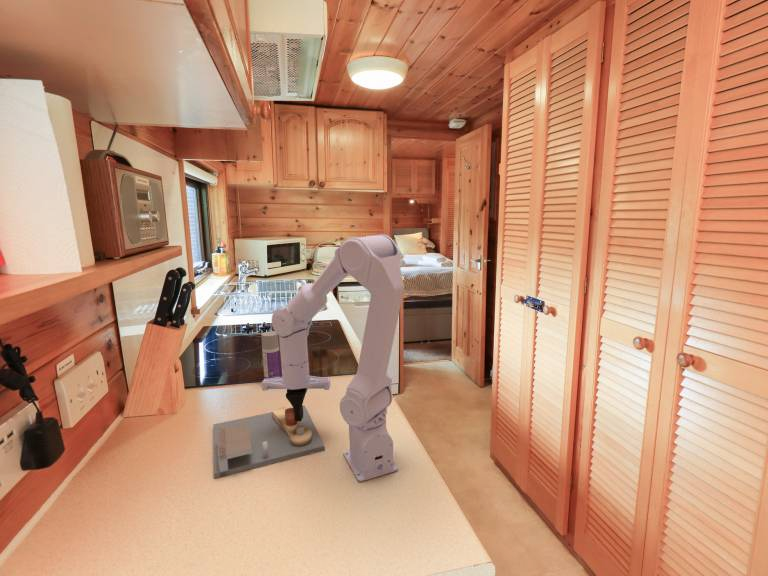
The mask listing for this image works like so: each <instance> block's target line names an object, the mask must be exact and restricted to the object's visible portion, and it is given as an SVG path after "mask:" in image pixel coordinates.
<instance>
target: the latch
mask: <svg viewBox="0 0 768 576" xmlns="http://www.w3.org/2000/svg"><path fill="white" fill-rule="evenodd" d="M271 412H272V417H273V418H274V419H275V420H276V422H277V423H278V424H279V425H280V426H281V427H282V428H283V430H284V431H285V432H286V433H287V434H288V435H289V437H290V443H291V444H292V445H295V446H302V445H306V444H308V443H309V442H311V440H312V431H311V429H309V428H306V427H305V426H303V425H301V424H300V423H299V422H298V421H295V410H294V408H293V407H289V408H286V407H285V406H283V407H280V408H277V409H273V410H271Z"/></svg>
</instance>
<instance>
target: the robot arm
mask: <svg viewBox="0 0 768 576" xmlns="http://www.w3.org/2000/svg"><path fill="white" fill-rule="evenodd" d="M401 254H402V251H401V250H400V248H399V247H398V245H397V244H396V242H395V241H394V240H393V239H392V238H391V236H389V235H388V234H384V233H380V234H374V235H371V236H370V235H369V236H367V235H366V236H358V237H357V236H351V237H347V238H346V239H345V240H344V241H342V243H341V245H340V246H338V247H337V248H336V249H335V250H334V256H333V257H332V259H330V261H329V262H328V264H327V265H326V266H325V268H324V269H323V271H322V272H321V273H320V274H319V276H318V277H317V278H316V280H315V281H314V282H313V283H312V282H311V283H310V282H308V283H305V284H301V285H299V286H298V288H297V290H298V292H297V293H295V295H294V296H293V297H292V298H291V299H288V300H287V302H286V305H285V307H283V308H282V307H281V308H277V309H275V310H274V312H273V313H272V316H271V326H272V329H273V330H274V331H275V332H276V333H277V334H278V341H279V351H280V365H281V377H277V378H269V379H263V380H262V381H261V387H262V388H261V389H262V391H268V390H286V393H285V398H286V400H287V401H288V402H289V403H290V405H291V406H292V407H291V408H294V410H295V421H302V418H303V406H304V405H303V404H304V400H305V397H306V394H307V393H308V390H312V389H314V390H315V389H316V390H317V389H318V390H319V389H323V390H325V391H329V390H330V388H331V377H322V376H321V377H320V376H314V375H310V363H309V351H308V350H309V349H308V336H310V335H309V334H310V333H309V331H310V330H309V329H310V328H311V326H312V323H313V319H314V317H315V316H316V315H317V314H319V312H320V311H321V310H322V309H323V308H324V307H325V306H326V305H327V303H328V294H329V293H331V292H332V291H333V290H334V289H335V288H336V287H337V286H338V285H339V284H340V283H342V281H344V280H345V278H346V277H348V276H349V275H350V276H351V277H352V278H353V279H354V280H355V281H356V282H358V283H359V285H361V286H362V287H363V288H364V289H366V290H367V291H368V293H369V294H370V300H369V304H368V309H367V315H366V321H365V326H364V333H363V338H362V343H361V349H360V355H359V361H358V365H357V370H356V374H355V375H354V377H352V379H351V381H350V382H349V383H348V385H347V387H346V391H345V394H344V396H343V397H342V398H341V399H340V402H339V412H340V415H341V417H342V419H343V420H344V421H345V422H346V425H348V437H349V450H345V451H344V452H343V456H344V457H345V460H346V461H347V463H348V465H349V467H350V469H351V471H352V472H353V474H354V476H355V479H356V480H357V481H358V482H360V483H361V482H363V481H368V480H371V479H374V478H377V477H381V476H384V475H387V474H390V473H391V474H392V473H394V472H397V471H398V470H399V467H398V465H397V464H396V463H395V462H394V441H393V438H392V437H391V435H390V434H389V431H388V429H387V414H388V407H389V406H390V405H391V404H392V402H393V390H392V382H393V379H392V378H391V377H390V376H389V375H388V374H387V373H388V368H389V363H390V359H391V358H390V357H391V355H392V347H393V343H394V340H395V335H396V330H397V326H398V325H397V324H398V320H399V315H400V310H401V305H402V302H403V297H404V293H405V292H404V291H405V284H404V279H403V274H402V270H401V265H400V259H401Z"/></svg>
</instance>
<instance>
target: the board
mask: <svg viewBox="0 0 768 576" xmlns="http://www.w3.org/2000/svg"><path fill="white" fill-rule="evenodd" d="M298 422H299V423H300V424H301V425H303V426H305V427H306V428H309V429H311V431H312V440H311V442H309V443H308V444H306V445H302V446H295V445H292V444H291V443H290V437H289V435H288V434H287V433H286V432H285V431H284V430H283V428H282V427H281V426H280V425H279V424H278V423H277V422H276V420H275V419H274V418H273V417H272V411H271V412H266V413H262V414H257V415H253V416H247V417H243V418H237V419H233V420H229V421H224V422H218V423H213V427H212V428H213V429H212V431H213V434H212V435H213V436H212V437H213V478H214V479H219V478H221V477H226V476H229V475H234V474H237V473H242V472H245V471H250V470H253V469H257V468H261V467H265V466H268V465H271V464H272V465H273V464H275V463H276V464H277V463H281V462H283V461H288V460H291V459H296V458H300V457H303V456H307V455H312V454H316V453H318V452H322V451H325V449H326V448H325V444H324V442H323V439H322V437H321V436H320V434H319V431H318V430H317V427H316V426H315V424H314V422H313V419H312V418H311V415H310V414H309V411H308V410H307V408H306V406H305V405H303V418H302V421H298ZM246 423H248V428H249V434H250V440H251V445H252V453H250V454H246V455H242V456H238V457H234V458H230V459H228V471H223V474H225V473H226V474H225V475H226V476H225V475H222V472H220V470H219V461H218V439H217V430H218V429H223V428H227V427H232V426H237V425H241V424H246ZM224 472H225V473H224ZM227 472H228V473H227Z"/></svg>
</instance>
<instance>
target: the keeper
mask: <svg viewBox="0 0 768 576" xmlns="http://www.w3.org/2000/svg"><path fill="white" fill-rule="evenodd" d="M217 439H218V461H219V470H220V472H222V475H225V474H226V473H225V472H224V473H225V474H223V471H228V459H230V458H234V457H238V456H242V455H246V454H250V453H252V445H251V440H250V434H249V428H248V423H246V424H241V425H237V426H232V427H227V428H223V429H218V430H217ZM227 473H228V472H227ZM224 477H227V475H225V476H224Z"/></svg>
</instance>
